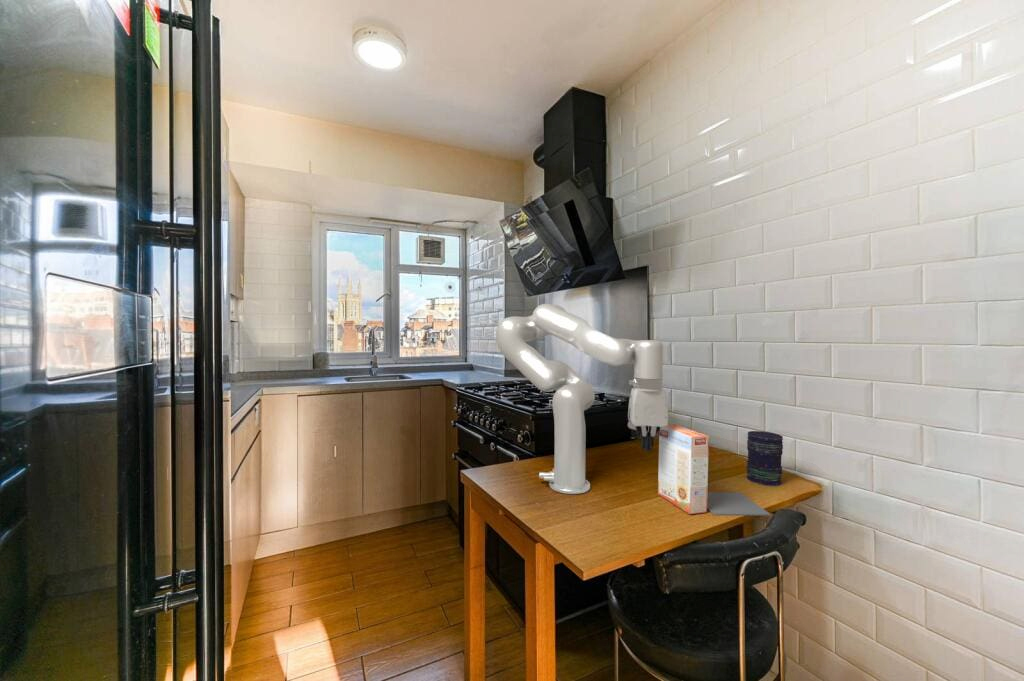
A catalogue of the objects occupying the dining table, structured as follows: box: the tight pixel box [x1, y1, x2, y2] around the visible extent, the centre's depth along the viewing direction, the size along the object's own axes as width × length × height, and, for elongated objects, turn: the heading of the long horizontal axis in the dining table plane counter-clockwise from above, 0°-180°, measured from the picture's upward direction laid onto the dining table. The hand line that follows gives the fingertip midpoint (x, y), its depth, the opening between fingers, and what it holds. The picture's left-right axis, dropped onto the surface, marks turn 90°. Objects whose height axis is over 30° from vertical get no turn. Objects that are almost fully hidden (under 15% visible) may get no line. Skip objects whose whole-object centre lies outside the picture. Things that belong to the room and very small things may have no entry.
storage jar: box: [745, 430, 784, 487], centre depth 130 cm, size 10×10×15 cm
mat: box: [707, 491, 771, 517], centre depth 113 cm, size 15×14×1 cm
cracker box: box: [657, 423, 710, 515], centre depth 113 cm, size 14×6×21 cm, turn 15°
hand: (646, 449), depth 112 cm, fingers closed
